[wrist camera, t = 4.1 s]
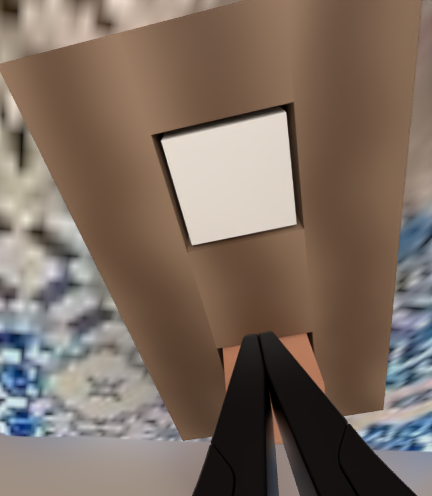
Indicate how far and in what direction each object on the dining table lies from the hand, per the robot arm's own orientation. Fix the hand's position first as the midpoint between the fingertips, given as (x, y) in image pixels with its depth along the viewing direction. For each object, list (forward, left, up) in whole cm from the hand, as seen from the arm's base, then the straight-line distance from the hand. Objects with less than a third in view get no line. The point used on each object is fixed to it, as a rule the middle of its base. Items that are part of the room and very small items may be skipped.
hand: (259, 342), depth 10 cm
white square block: (0, -2, -10) cm, 10 cm away
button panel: (0, +4, -10) cm, 11 cm away
